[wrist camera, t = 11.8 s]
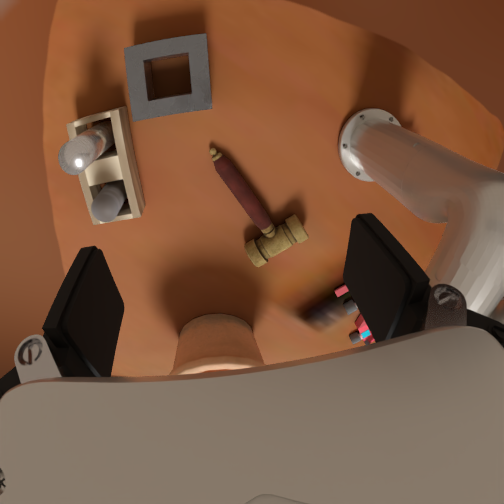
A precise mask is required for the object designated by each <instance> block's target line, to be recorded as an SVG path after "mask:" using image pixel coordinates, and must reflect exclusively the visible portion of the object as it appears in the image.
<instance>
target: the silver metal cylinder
mask: <svg viewBox="0 0 504 504" xmlns="http://www.w3.org/2000/svg"><path fill="white" fill-rule="evenodd" d="M114 143H115V139H114V134H113V128H112V123H111V122H110V121H103V122H101V123H99V124H97V125H95V126H94V127H92V128H90V129H88V130H86V131H85V132H83V133H81V134H80V135H78V136H76V137H75V138H73V139H71V140H70V141H68V142H66V143H65V144H64V145H63V146H62V147H61V149H60V151H59V155H58V159H59V164H60V166H61V168H62V169H63V170H64V171H65V172H66V173H68V174H71V175H77V174H80V173H82V172H83V171H84V170H85V169H86V168H87V167H88V166H89V165H90V164H91V163H93V162H94V161H95V160H96V159H97V158H98V157H99V156H100V155H101V154H103V153H104V152H105V151H106V150H107V149H108V148H109V147H111V146H112V145H113V144H114Z"/></svg>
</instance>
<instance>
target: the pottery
mask: <svg viewBox="0 0 504 504" xmlns="http://www.w3.org/2000/svg"><path fill="white" fill-rule="evenodd" d="M264 365H265V364H264V361H263V359H262V356H261V353H260V351H259V348H258V346H257V343H256V340H255V338H254V335H253V332H252V329H251V327H250V326H249V325H248V324H247V323H246V322H245V321H244V320H242V319H240V318H238V317H235V316H233V315H226V314H208V315H204V316H201V317H198V318H195V319H193V320H191V321H190V322H188V323H187V324H186V325H184V327H183V329H182V330H181V332H180V337H179V341H178V346H177V351H176V356H175V361H174V367H173V370H172V371H171V373H170V374H169V375H182V374H195V373H206V372H217V371H226V370H234V369H242V368H250V367H257V366H264Z"/></svg>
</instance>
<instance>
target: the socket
mask: <svg viewBox="0 0 504 504" xmlns="http://www.w3.org/2000/svg"><path fill="white" fill-rule="evenodd" d="M124 53H125V63H126V73H127V81H128V89H129V97H130V104H131V111H132V117H133V122H135V121H139V120H144V119H149V118H155V117H160V116H166V115H172V114H178V113H185V112H192V111H199V110H207V109H212V100H211V88H210V76H209V63H208V50H207V36H206V33H205V34H196V35H189V36H182V37H175V38H169V39H164V40H158V41H153V42H148V43H144V44H139V45H135V46H131V47H127V48H124ZM188 55H189V65H190V76H191V87H192V92H189V93H182V94H176V95H169V96H164V97H158V98H155V95H154V87H153V78H152V68H151V62H152V61H158V60H163V59H168V58H174V57H181V56H188Z"/></svg>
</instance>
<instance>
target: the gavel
mask: <svg viewBox="0 0 504 504" xmlns="http://www.w3.org/2000/svg"><path fill="white" fill-rule="evenodd" d="M209 152H210V154H211V155H213V157H212V160H213V162H214V165H215V168H216V171H217V173H218V174H219V175H220V177H221V178H222V179H223V181H224V182H225V183H226V185H227V186H228V188H229V189H230V190H231V192H232V193H233V194H234V196H235V197H236V198H237V200H238V201H239V203H240V204H241V205H242V207H243V208H244V210H245V211H246V212H247V214H248V215H249V216H250V218H251V219H252V221H253V222H254V223H255V225H256V226H257V227H258V228H260V229H261V231H262V232H263V234H264V235H263V236H261V237H260V238H259V239H258V240H256V239H252V240H251V241H249V242H247V243H246V244H245V250H246V253H247V255H248V257H249V258H250V260H251V261H252V263H253V264H254V265H255V266H257V267H260V266H262V265H263V264H265V263H267V262H268V258H270V257H274V256H275V255H277V254H279V253H280V252H282V251H284V250H286V249H287V248H289V247H291V246H292V245H293V244H294V243H296V242H298V243H299V244H300V243H301V242H303V241H305V240H306V239H308V238H309V236H308V234H307V233H306V231H305V229H304V227H303V226H302V224H301V222H300V221H299V219H298V217H297V216H296V215H295V214H294V215H292V216H291V217H289V218H287V219H286V220H285V221H286V223H285V224H283V225H279V226H278V227H276V228H275V226H274V225H273V224H272V222H271V220H270V218H269V216H268V214H267V213H266V211H265V210H264V208H263V207H262V205H261V204H260V202H259V201H258V199H257V198H256V197H255V195H254V194H253V192H252V191H251V189H250V188H249V186H248V185H247V184H246V182H245V181H244V179H243V178H242V176H241V175H240V174H239V172H238V171H237V169H236V168H235V166H234V165H233V164H232V162H231V161H230V160H229V159H227V158H226V157H225V156H223V155H222V154H221V153H217V151H216V149H215V148H211V149H210V150H209Z"/></svg>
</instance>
